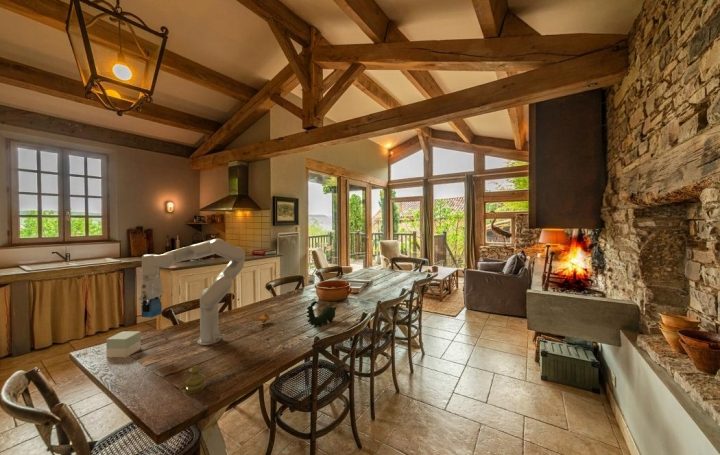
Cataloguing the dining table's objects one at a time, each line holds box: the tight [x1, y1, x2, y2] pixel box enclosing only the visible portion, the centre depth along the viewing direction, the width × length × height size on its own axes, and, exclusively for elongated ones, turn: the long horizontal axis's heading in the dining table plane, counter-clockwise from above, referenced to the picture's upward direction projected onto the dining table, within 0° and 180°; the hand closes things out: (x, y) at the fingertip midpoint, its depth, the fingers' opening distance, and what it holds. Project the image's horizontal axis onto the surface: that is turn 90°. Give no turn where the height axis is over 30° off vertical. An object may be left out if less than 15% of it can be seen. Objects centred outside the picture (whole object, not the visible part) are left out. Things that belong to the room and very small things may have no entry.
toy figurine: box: [306, 300, 337, 328], centre depth 193 cm, size 9×19×25 cm
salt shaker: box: [184, 364, 206, 395], centre depth 119 cm, size 7×7×10 cm
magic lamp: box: [251, 305, 273, 323], centre depth 193 cm, size 7×18×11 cm, turn 150°
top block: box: [106, 330, 142, 349], centre depth 150 cm, size 10×10×5 cm
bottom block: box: [105, 340, 142, 359], centre depth 150 cm, size 10×10×5 cm
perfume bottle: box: [141, 298, 163, 319], centre depth 152 cm, size 6×6×12 cm
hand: (151, 309), depth 152 cm, fingers closed on perfume bottle, 7 cm apart
